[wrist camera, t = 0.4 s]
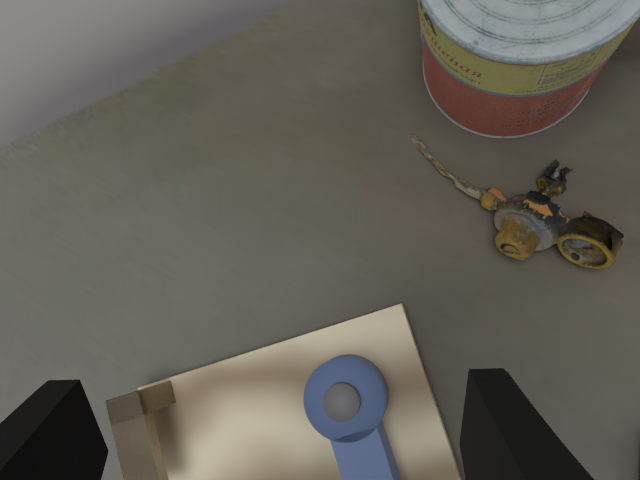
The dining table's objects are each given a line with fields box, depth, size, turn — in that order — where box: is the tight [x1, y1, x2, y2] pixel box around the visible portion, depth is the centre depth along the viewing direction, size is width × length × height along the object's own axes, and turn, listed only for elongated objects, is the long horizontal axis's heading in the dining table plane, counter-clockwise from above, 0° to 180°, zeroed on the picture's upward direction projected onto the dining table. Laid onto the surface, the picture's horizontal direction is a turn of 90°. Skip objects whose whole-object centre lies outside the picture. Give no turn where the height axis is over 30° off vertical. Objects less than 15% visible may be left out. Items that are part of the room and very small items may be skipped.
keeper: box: [106, 380, 176, 480], centre depth 36 cm, size 6×2×5 cm, turn 18°
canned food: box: [418, 0, 640, 139], centre depth 30 cm, size 11×11×12 cm
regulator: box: [411, 134, 624, 269], centre depth 34 cm, size 8×4×15 cm
